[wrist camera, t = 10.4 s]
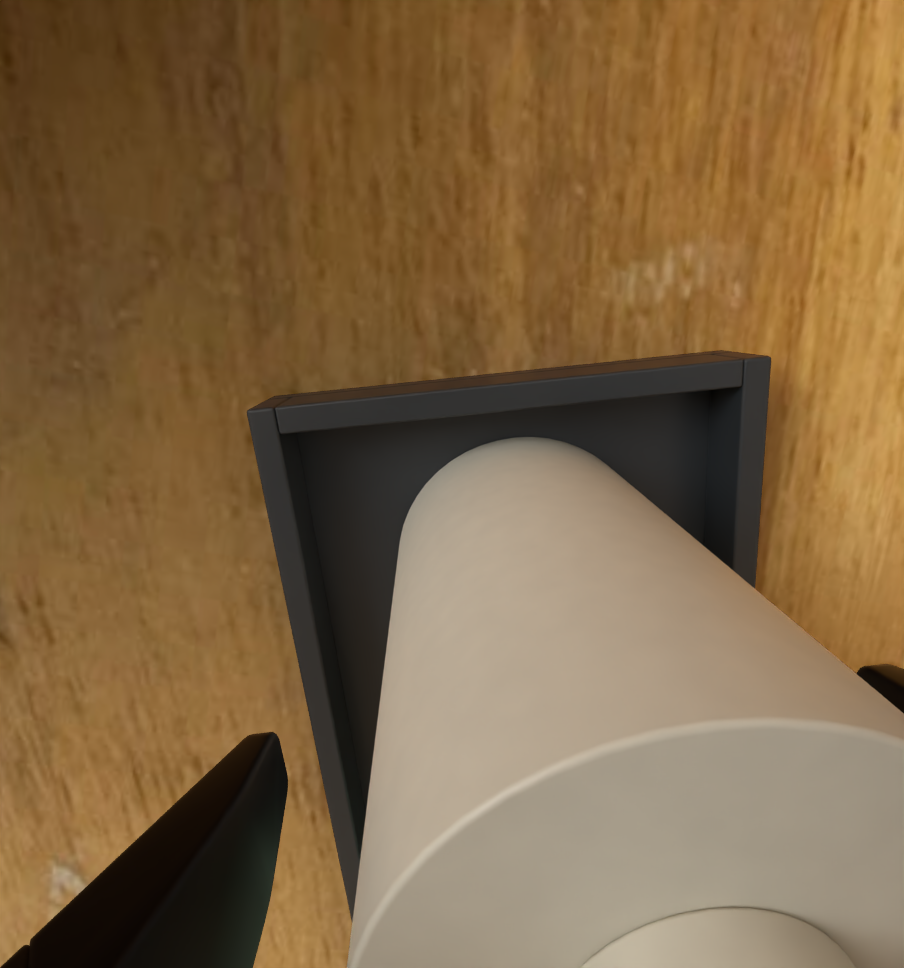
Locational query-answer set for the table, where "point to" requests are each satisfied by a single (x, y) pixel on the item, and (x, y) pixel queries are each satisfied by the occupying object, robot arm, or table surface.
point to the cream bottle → (613, 746)
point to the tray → (433, 444)
